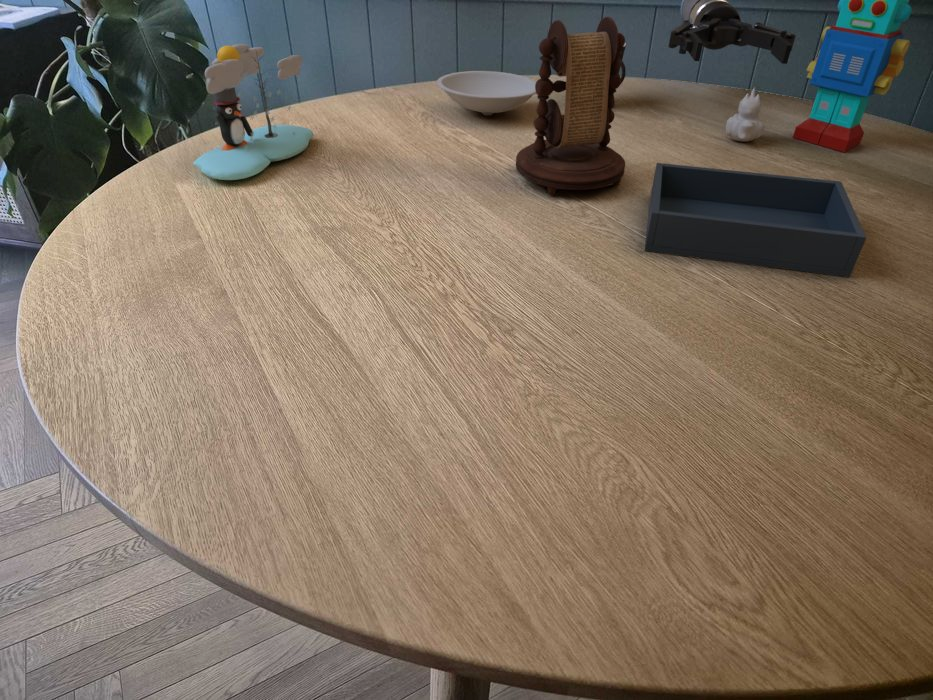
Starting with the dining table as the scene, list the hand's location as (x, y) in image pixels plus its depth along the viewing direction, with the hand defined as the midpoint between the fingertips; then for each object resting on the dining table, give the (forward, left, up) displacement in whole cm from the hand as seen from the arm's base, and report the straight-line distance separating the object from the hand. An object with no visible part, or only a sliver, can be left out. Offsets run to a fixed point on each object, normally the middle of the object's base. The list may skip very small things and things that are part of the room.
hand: (742, 53), depth 104 cm
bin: (0, +42, -10) cm, 43 cm away
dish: (+39, +8, -11) cm, 41 cm away
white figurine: (-2, +10, -11) cm, 15 cm away
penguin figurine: (+67, +36, -11) cm, 77 cm away
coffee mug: (+22, -1, -11) cm, 25 cm away
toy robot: (-15, +6, -11) cm, 19 cm away
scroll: (+22, +31, -11) cm, 39 cm away
